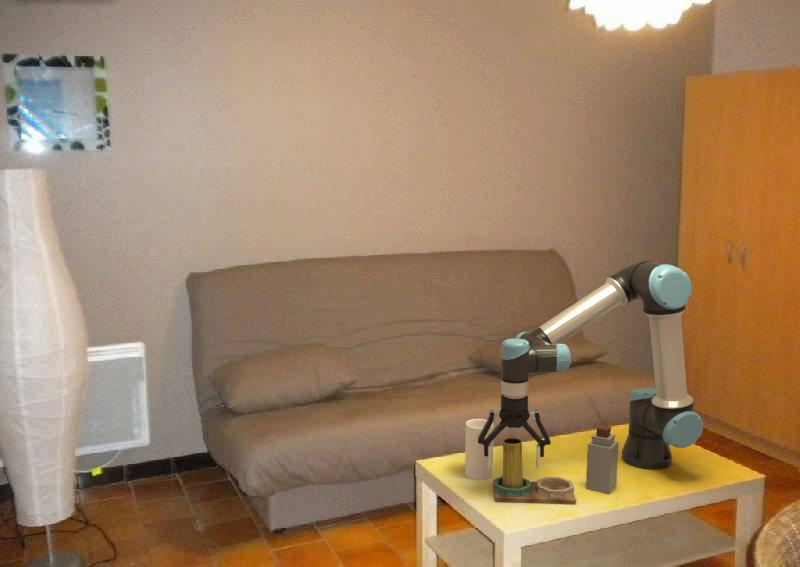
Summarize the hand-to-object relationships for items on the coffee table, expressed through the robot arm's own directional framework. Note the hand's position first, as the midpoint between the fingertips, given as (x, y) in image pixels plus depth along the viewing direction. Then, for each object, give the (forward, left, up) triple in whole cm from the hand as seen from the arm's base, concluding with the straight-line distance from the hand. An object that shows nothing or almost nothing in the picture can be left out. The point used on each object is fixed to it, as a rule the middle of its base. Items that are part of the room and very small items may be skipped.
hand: (513, 467), depth 222 cm
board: (-6, 0, -8) cm, 10 cm away
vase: (0, 0, -7) cm, 7 cm away
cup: (+9, -13, -8) cm, 18 cm away
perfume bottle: (-26, -6, -8) cm, 28 cm away
